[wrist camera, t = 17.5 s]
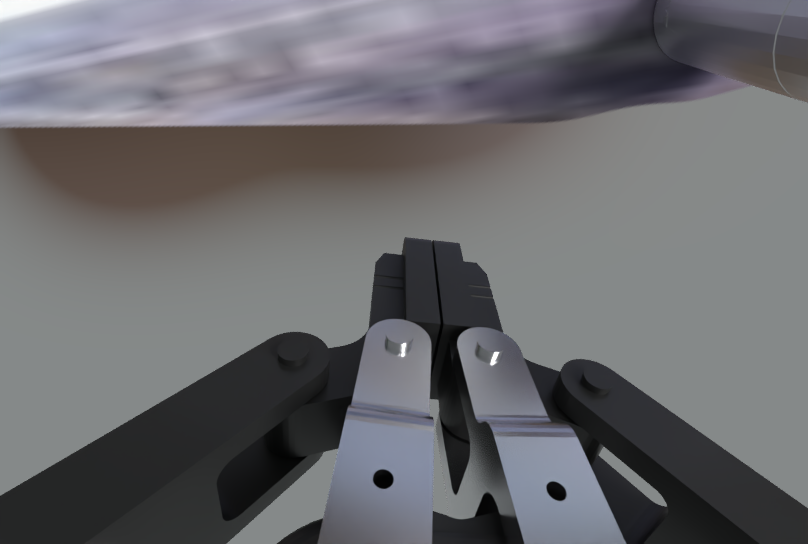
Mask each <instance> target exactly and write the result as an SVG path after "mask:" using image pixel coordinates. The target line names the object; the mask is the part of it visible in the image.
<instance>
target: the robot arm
mask: <svg viewBox="0 0 808 544" xmlns="http://www.w3.org/2000/svg"><path fill="white" fill-rule="evenodd" d="M653 22H654V33H655V36H656V39H657V42H658V45H659V46H660V48H661V49H662V51H663V52H664V53H665V54H666V55H667V56H669V57H670V58H671V59H673V60H675V61H677V62H680V63H683V64H686V65H689V66H692V67H695V68H699V69H701V70H704V71H707V72H710V73H714V74H717V75H720V76H723V77H726V78H730V79H733V80H736V81H739V82H742V83H746V84H749V85H752V86H755V87H758V88H762V89H765V90H768V91H771V92H775V93H777V94H781V95H784V96H787V97H790V98H794V99H797V100H800V101H804V102H808V0H657V2H656V6H655V12H654V21H653ZM430 399H438V400H439V414H438V418H437V422H436V433H437V440H438V446H439V452H440V459H441V464H442V471H443V477H444V484H445V490H446V496H447V504H448V516H446V515H443V514H440V513H437V512H434V511H433V463H434V459H433V458H434V420H433V417H430V416H429V409H430ZM603 447H605V448H607V449H608V450H609V451H610V452H612V453H613V454H614V455H615V456H616V457H617V458H619V459H620V460H621V461H622V462H624V463H625V464H626V465H627V466H628V467H630V468H631V469H632V470H633V471H634V472H636V473H637V474H638V475H639V476H640V477H641V478H643V479H644V480H645V481H646V482H647V483H649V484H650V485H651V486H652V487H653V488H655V489H656V490H657V491H658V492H659V493H660V494H661V495H662V497H663V498H664V500H665V502H666V503H667V507H664V506H660V505H658V504H656V503H654V502H653V501H651V500H650V499H649V498H648V497H646V496H645V495H644V494H643V493H642V492H640V491H639V490H638V489H637V488H636V487H635V486H633V485H632V484H631V483H630V482H629V481H628V480H626V479H625V478H624V477H623V476H622V475H621V474H619V473H618V472H617V471H616V470H615V469H614V468H612V467H611V466H610V465H609V464H608V463H607V462H605V461H604V460H603V459H602V458H601V457H600V456H598V455H599V453H600V451H601V450H602V448H603ZM338 448H339V449H338ZM333 449H338V454H337V458H336V463H335V467H334V471H333V476H332V481H331V485H330V489H329V494H328V499H327V503H326V508H325V512H324V517H323V518H322V519H320V520H317V521H314V522H311V523H309V524H308V525H305V526H303V527H301V528H299V529H297V530H296V531H294V532H293V533H291V534H289V535H288V536H286V537H285V538H284V539H282V540H281V541H280V542H279V543H277V544H808V508H807V507H805V506H804V505H802V504H801V503H799V502H798V501H797V500H795V499H794V498H792V497H791V496H790V495H788V494H787V493H785V492H784V491H783V490H781V489H780V488H778V487H777V486H775V485H774V484H773V483H771V482H770V481H768V480H767V479H765V478H764V477H763V476H761V475H760V474H758V473H757V472H755V471H754V470H753V469H751V468H750V467H749V466H747V465H746V464H744V463H743V462H741V461H740V460H739V459H737V458H736V457H734V456H733V455H731V454H730V453H729V452H727V451H726V450H724V449H723V448H722V447H720V446H719V445H717V444H716V443H715V442H713V441H712V440H710V439H709V438H707V437H706V436H704V435H703V434H702V433H700V432H699V431H698V430H696V429H695V428H693V427H692V426H690V425H689V424H688V423H686V422H685V421H683V420H682V419H680V418H679V417H678V416H676V415H675V414H673V413H672V412H670V411H669V410H668V409H666V408H665V407H664V406H662V405H661V404H659V403H658V402H657V401H655V400H654V399H652V398H651V397H649V396H648V395H646V394H645V393H644V392H642V391H641V390H639V389H638V388H637V387H635V386H634V385H632V384H631V383H630V382H628V381H627V380H625V379H624V378H622V377H621V376H620V375H618V374H617V373H615V372H614V371H612V370H611V369H609V368H608V367H606V366H604V365H602V364H600V363H597V362H594V361H591V360H584V359H576V360H571V361H569V362H567V363H566V364H564V366H563V367H562V369H561V371H560V372H559V371H556V370H553V369H550V368H547V367H544V366H541V365H538V364H535V363H533V362H530V361H528V360H526V359H525V358H523V355H522V353H521V350H520V348H519V346H518V345H517V344H516V342H515V341H514V340H513V339H511V338H510V337H509V336H507V335H506V334H504V333H503V330H502V327H501V323H500V320H499V316H498V312H497V309H496V305H495V302H494V299H493V295H492V291H491V289H490V284H489V281H488V277H487V274H486V273H485V272H484V271H483V270H482V269H481V267H480V266H479V265H478V264H477V263H472V262H464V261H463V257H462V253H461V248H460V244H459V243H452V242H443V241H434V240H433V241H431V240H424V239H415V238H406V237H405V239H404V244H403V250H402V255H397V254H387V253H384V254H383V255H382V256H381V257H380V258H379V260H378V261H377V262H376V265H375V274H374V283H373V292H372V301H371V311H370V321H369V329H368V331H367V332H366V334H365V335H364V336H363V337H362V338H361V339H359V340H358V341H356V342H354V343H351V344H349V345H345V346H340V347H334V348H328V347H327V346H326V344H325V343H324V342H323V341H322V340H321V339H319V338H318V337H316V336H314V335H311V334H308V333H302V332H290V333H289V332H288V333H283V334H280V335H277V336H274V337H272V338H270V339H268V340H267V341H265V342H264V343H262V344H260V345H258V346H257V347H255V348H253V349H251V350H250V351H248V352H246V353H244V354H243V355H241V356H239V357H238V358H236V359H234V360H233V361H231V362H229V363H227V364H226V365H224V366H222V367H221V368H219V369H217V370H215V371H214V372H212V373H210V374H208V375H207V376H205V377H203V378H202V379H200V380H198V381H196V382H195V383H193V384H191V385H190V386H188V387H186V388H184V389H183V390H181V391H179V392H178V393H176V394H174V395H172V396H171V397H169V398H167V399H166V400H164V401H162V402H160V403H159V404H157V405H155V406H154V407H152V408H150V409H149V410H147V411H145V412H143V413H142V414H140V415H138V416H136V417H135V418H133V419H132V420H130V421H128V422H126V423H124V424H123V425H121V426H119V427H118V428H116V429H114V430H112V431H111V432H109V433H107V434H106V435H104V436H102V437H100V438H99V439H97V440H95V441H94V442H92V443H90V444H88V445H87V446H85V447H83V448H82V449H80V450H78V451H76V452H75V453H73V454H71V455H70V456H68V457H67V458H64V459H63V460H61V461H59V462H58V463H56V464H54V465H52V466H51V467H49V468H47V469H46V470H44V471H42V472H41V473H39V474H37V475H36V476H34V477H32V478H30V479H28V480H27V481H25V482H23V483H22V484H20V485H18V486H16V487H15V488H13V489H11V490H10V491H8V492H6V493H4V494H3V495H1V496H0V544H226V543H227V542H229V541H230V540H231V539H232V538H233V537H234V536H235V535H236V534H238V533H239V532H240V531H241V530H242V529H243V528H244V527H245V526H246V525H248V524H249V523H250V522H251V521H252V520H253V519H254V518H255V517H256V516H257V515H258V514H260V513H261V512H262V511H263V510H264V509H265V508H266V507H267V506H269V505H270V504H271V503H272V502H273V501H274V500H275V499H276V498H277V497H279V496H280V495H281V494H282V493H283V492H284V491H285V490H286V489H287V488H289V487H290V486H291V485H292V484H293V483H294V482H295V481H296V480H297V479H299V478H300V477H301V476H302V475H303V474H304V473H305V472H306V471H307V470H309V469H310V468H311V467H312V466H313V465H314V464H315V463H316V462H317V461H318V460H319V459H320V457H321V456H322V454H323V452H325V451H329V450H333Z"/></svg>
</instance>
